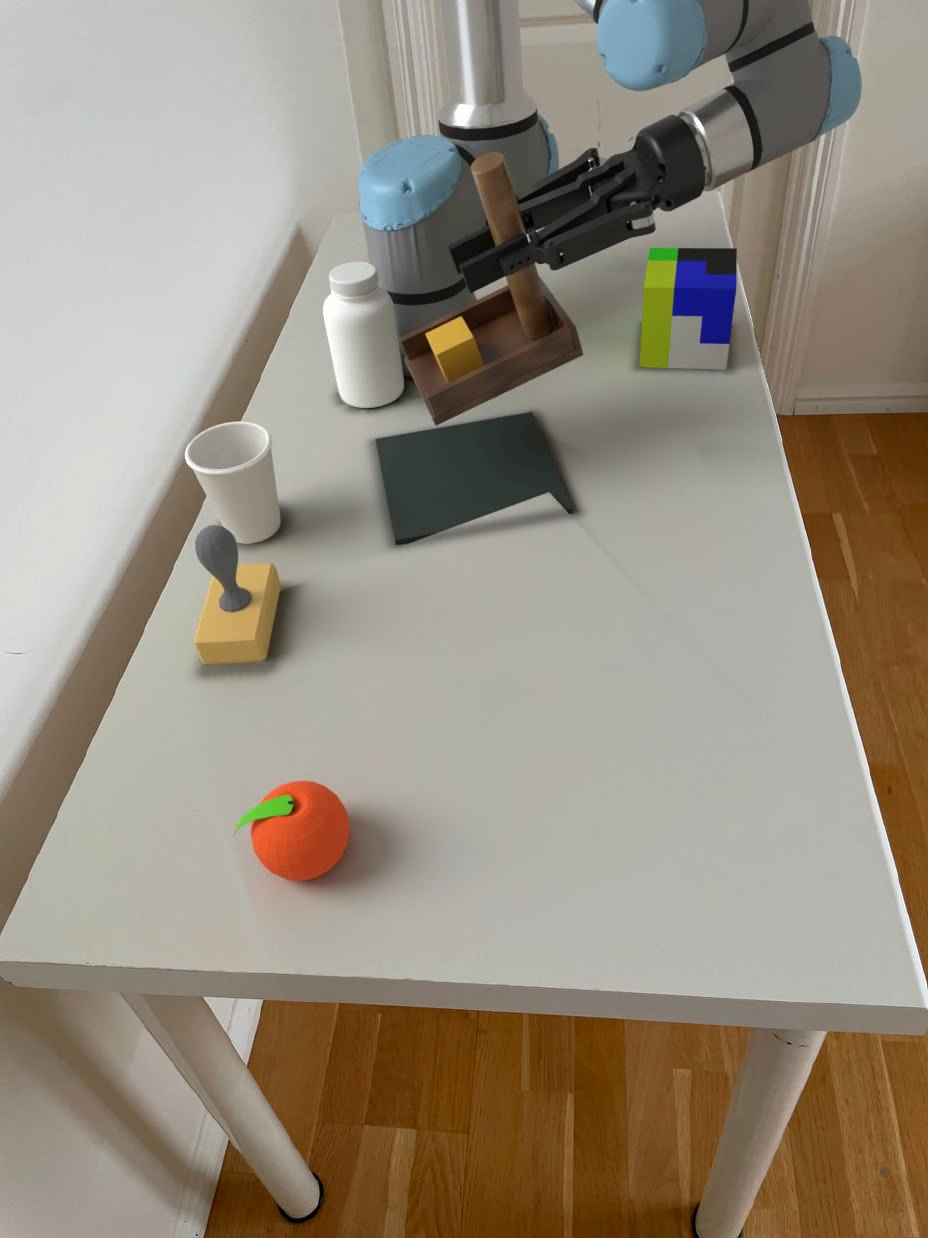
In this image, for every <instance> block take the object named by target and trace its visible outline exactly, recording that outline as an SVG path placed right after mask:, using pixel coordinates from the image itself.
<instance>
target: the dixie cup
mask: <svg viewBox="0 0 928 1238" xmlns="http://www.w3.org/2000/svg"><path fill="white" fill-rule="evenodd" d="M272 437H273V436H272V435H271V432H270V431H269V430H268V429H267V428H265V427H264V426H262V425H260V424H257V423H254V422H250V421H229V422H224V423H220V424H216V425H214V426H211V427H209V428H207V429H205V430H203V431H201V432H200V433H199V434H197V435H196V436H195V437H193V438H192V440H190V442H189V443H188V445H187V447H186V449H185V452H184V459H185V462H186V464H187V465H188V467H190V469H192V470H193V472H194V475H195V476H196V478H197V480H198V483H199V484H200V486H201V488H202V490H203V492H204V494H205V496H206V498H207V499H208V501H209V504H210V505H211V507H212V509H213V511H214V512H215V515H216V516H217V518H218V520H219V522H220V524H221V526H223V527H224V528H226V529H227V530H229V531H230V532H231V533H232V534H233V535H234V537H235V539H236V542H237V544H244V545H250V544H257V543H260V542H263V541H266V540H267V539H270V538H271V537H273V535H275V534H276V533H277V531H278V530H279V529H280V528H281V521H282V520H281V511H280V503H279V498H278V491H277V483H276V475H275V467H274V460H273V459H274V458H273V453H272V446H273V438H272Z"/></svg>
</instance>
